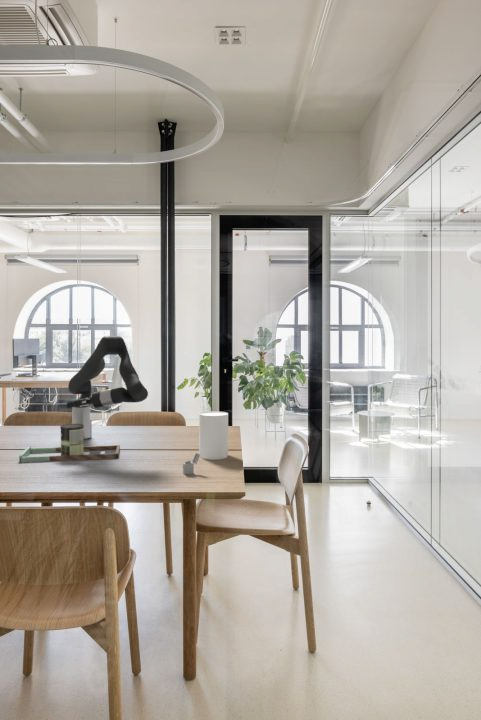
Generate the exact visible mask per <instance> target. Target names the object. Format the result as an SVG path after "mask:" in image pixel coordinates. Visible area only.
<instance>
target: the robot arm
mask: <svg viewBox="0 0 481 720" xmlns="http://www.w3.org/2000/svg"><path fill="white" fill-rule="evenodd" d="M111 355H112V356H113V355H115V356H119V358H120V362H119V363H120V364H119V367H118V370H119V371H118V372H119V375H120V377H121V378H122V381H123V382H124V385H125V387H121V386H120V387H115V388H108V389H103V390H98V391H94V392H92V381H91V380H93V379H96V378H97V377H98V376H100V375H101V373H102V372H103V371H104V369H105V367H106V360H105V357H106V356H111ZM67 386H68V392H69V393H70V394H73V395H80V397H78V398H76V399H75V400H73V401H71V402H67V403H66V409H70V408H71V409H72V411H71V412H72V415H71V416H72V420H71V421H72V423H71V424H83V425H84V427H83V440H84V439H85V440H86V439H90V438H92V435H93V434H92V433H93V431H92V430H93V427H92V426H93V425H92V424H93V423H92V419H91V406H93V407H94V408H95V409H99V408H103V407H105V408H106V407H109V406H110V407H111V406H113V405H117V404H121V403H140V402H143V401H145V400H146V399H147V398H148V396H149V392H148V390H147V388H146V387H145V386H144V384H143V383H142V381H141V380H140V377H139V374H138V373H137V371H136V368H135V367H134V365H133V363H132V361H131V356H130V354H129V351H128V347H127V345H126V341H125V340H124V338H123V337H122V336H120V335H105V336H102V337H101V338H100V340H99V342H98V343H97V345H96V348H95V349H94V351H92V353H91V355H90V356H89V358H88V359H87V360H86V361H85V363H84V364H83V365H82V366H81V368H80V369H79V371H77V373H76V374H74V375H73V376H72V377H71V378H70V379H69V381H68V385H67Z"/></svg>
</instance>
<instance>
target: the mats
mask: <svg viewBox="0 0 481 720" xmlns="http://www.w3.org/2000/svg"><path fill="white" fill-rule="evenodd" d="M101 452H102V450H99V451H89V453H88V454H102V453H101ZM113 453H116V450H104V454H113Z"/></svg>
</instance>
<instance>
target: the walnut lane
mask: <svg viewBox="0 0 481 720" xmlns="http://www.w3.org/2000/svg"><path fill="white" fill-rule="evenodd" d="M120 447H121V445H120V444H119V445H118V444H116V445H87V446H84V445H83V452H90V451H100V450H101V451H105V450H116V453H113V454H105V453H100V454H89V453H88V454H84V455H62V456H61V455H49V456H50V461H49V462H58V461H61V462H62V461H81V460H84V461H85V460H86V461H87V460H108V459H119V455H120V450H121V448H120ZM55 453H61V446H59V447H57V446H56V452H55ZM18 458H19V457H18ZM19 459H20V462H19V463H22V462H21V458H19Z"/></svg>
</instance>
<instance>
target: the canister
mask: <svg viewBox="0 0 481 720" xmlns="http://www.w3.org/2000/svg"><path fill="white" fill-rule="evenodd" d="M198 418H199V419H198V421H199V422H198V423H199V424H198V433H199V434H198V454H200V457H199V459H200V458H201V459H203V460H214V461H215V460H223V459H227V458H228V456H229V413H228V412H226V411H218V410H217V411H202V412H199V413H198Z"/></svg>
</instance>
